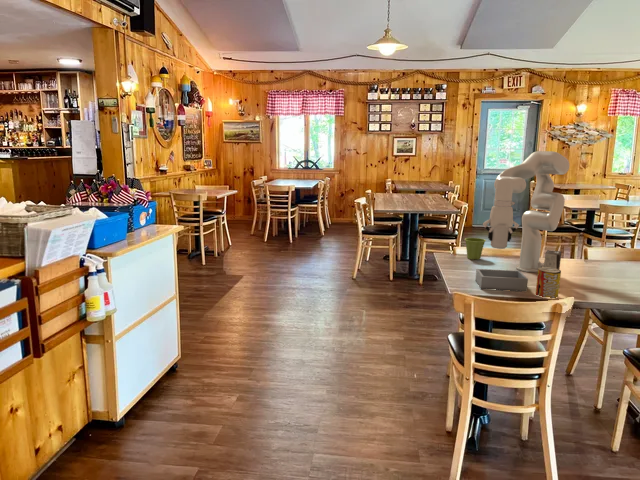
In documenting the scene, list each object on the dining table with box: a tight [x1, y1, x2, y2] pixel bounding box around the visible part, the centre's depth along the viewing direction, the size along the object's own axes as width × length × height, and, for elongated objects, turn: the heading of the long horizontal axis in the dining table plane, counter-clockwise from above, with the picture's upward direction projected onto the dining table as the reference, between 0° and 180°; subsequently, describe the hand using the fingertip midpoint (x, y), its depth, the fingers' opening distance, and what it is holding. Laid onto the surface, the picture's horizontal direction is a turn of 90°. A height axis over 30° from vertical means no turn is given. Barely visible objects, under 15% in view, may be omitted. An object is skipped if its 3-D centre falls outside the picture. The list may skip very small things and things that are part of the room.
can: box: [490, 224, 509, 250], centre depth 224 cm, size 8×8×12 cm
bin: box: [475, 268, 529, 292], centre depth 219 cm, size 20×14×6 cm
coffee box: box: [543, 249, 562, 270], centre depth 221 cm, size 9×6×16 cm
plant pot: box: [463, 237, 487, 261], centre depth 272 cm, size 12×12×11 cm
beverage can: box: [535, 267, 562, 298], centre depth 205 cm, size 9×9×12 cm
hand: (499, 240), depth 224 cm, fingers closed on can, 7 cm apart
